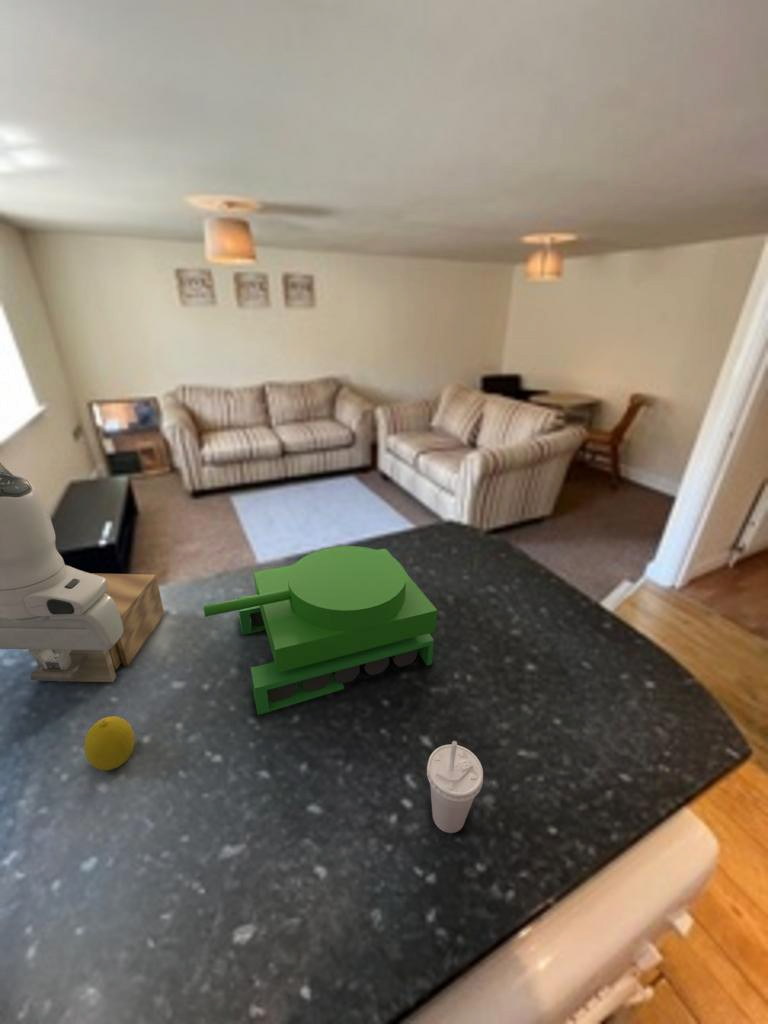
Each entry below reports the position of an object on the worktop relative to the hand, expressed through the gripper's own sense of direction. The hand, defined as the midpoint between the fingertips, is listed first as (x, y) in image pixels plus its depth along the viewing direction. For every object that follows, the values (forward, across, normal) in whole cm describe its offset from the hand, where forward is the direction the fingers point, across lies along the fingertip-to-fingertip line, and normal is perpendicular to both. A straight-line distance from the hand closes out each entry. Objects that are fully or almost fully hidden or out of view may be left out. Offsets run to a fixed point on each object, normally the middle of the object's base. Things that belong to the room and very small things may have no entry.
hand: (59, 666), depth 67 cm
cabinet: (+7, 0, +13) cm, 15 cm away
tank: (+7, +37, +12) cm, 39 cm away
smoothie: (+7, +57, -18) cm, 60 cm away
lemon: (+7, +13, -11) cm, 18 cm away
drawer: (+6, 0, +7) cm, 9 cm away
